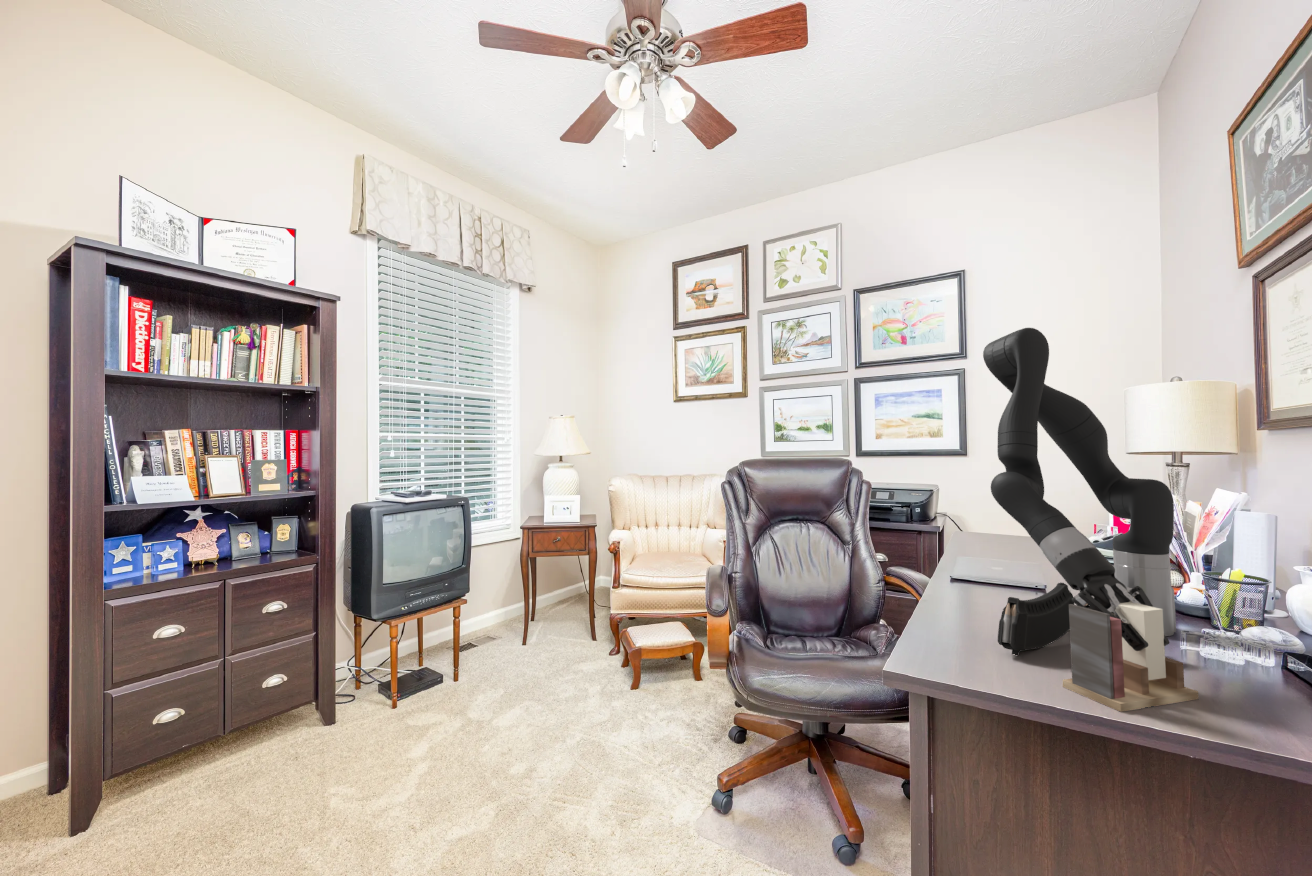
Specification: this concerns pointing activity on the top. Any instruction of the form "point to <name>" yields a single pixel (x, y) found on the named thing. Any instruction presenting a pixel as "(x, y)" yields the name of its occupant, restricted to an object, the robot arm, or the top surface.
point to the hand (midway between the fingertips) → (1153, 646)
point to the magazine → (1035, 620)
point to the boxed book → (1146, 638)
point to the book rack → (1116, 667)
